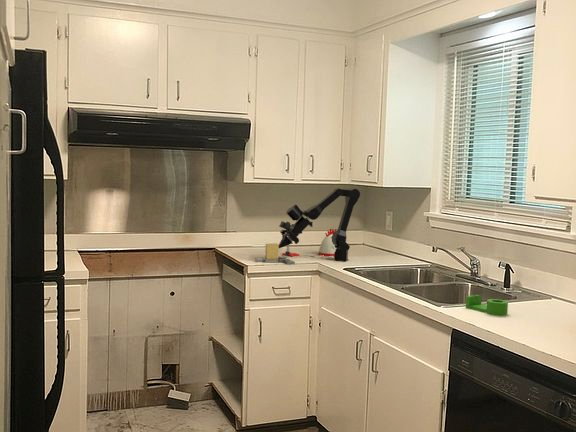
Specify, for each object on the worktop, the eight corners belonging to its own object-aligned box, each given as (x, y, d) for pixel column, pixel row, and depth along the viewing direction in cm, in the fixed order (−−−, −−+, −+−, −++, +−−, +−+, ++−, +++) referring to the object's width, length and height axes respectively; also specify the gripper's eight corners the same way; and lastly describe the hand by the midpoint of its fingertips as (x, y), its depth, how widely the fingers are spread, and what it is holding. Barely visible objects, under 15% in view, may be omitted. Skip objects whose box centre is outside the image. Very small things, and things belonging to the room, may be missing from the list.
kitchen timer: (347, 256, 358) (348, 229, 357) (326, 257, 352) (327, 230, 350) (334, 252, 370) (335, 227, 369) (314, 253, 364) (315, 227, 363)
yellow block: (276, 260, 333) (276, 243, 332) (278, 261, 329) (278, 244, 328) (265, 260, 331) (265, 243, 330) (266, 261, 327) (267, 244, 327)
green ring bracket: (511, 315, 225) (512, 302, 225) (498, 317, 222) (499, 304, 221) (478, 306, 238) (478, 294, 238) (465, 308, 234) (465, 296, 234)
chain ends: (287, 259, 337) (287, 257, 337) (294, 264, 323) (294, 261, 323) (254, 260, 332) (254, 257, 332) (260, 264, 318) (260, 261, 318)
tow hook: (289, 254, 360) (280, 255, 353) (291, 232, 360) (281, 232, 352) (302, 256, 356) (292, 257, 348) (303, 233, 355) (294, 233, 347)
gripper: (284, 214, 339) (263, 235, 337) (293, 217, 322) (272, 239, 320) (297, 229, 342) (277, 249, 340) (308, 232, 324) (286, 254, 322)
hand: (278, 247), depth 330 cm, fingers closed
